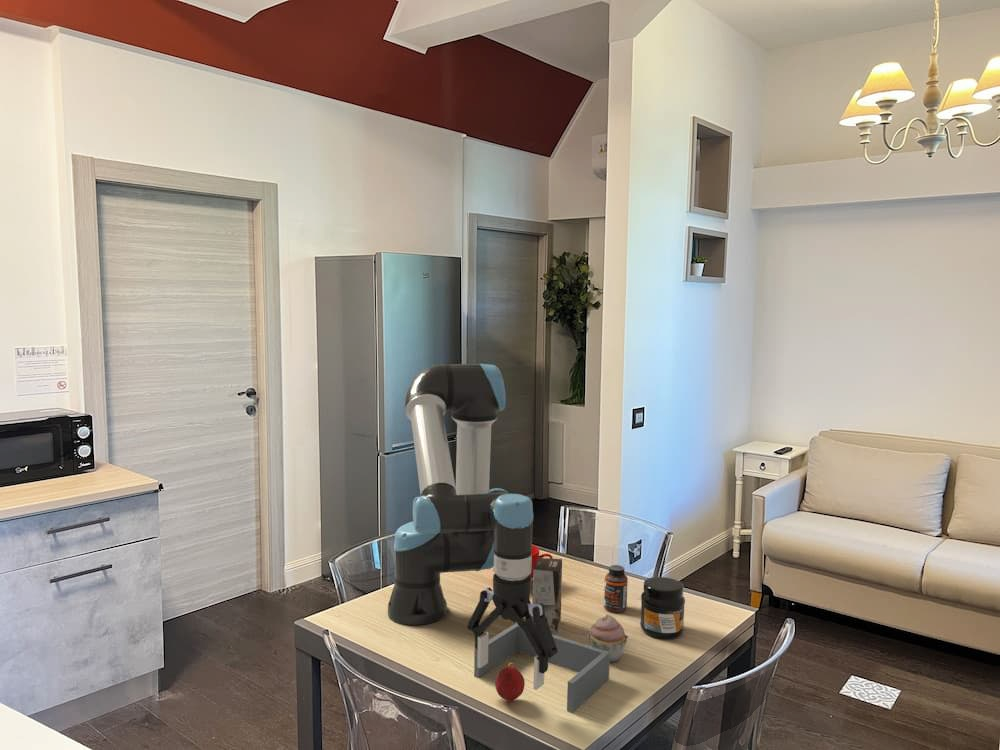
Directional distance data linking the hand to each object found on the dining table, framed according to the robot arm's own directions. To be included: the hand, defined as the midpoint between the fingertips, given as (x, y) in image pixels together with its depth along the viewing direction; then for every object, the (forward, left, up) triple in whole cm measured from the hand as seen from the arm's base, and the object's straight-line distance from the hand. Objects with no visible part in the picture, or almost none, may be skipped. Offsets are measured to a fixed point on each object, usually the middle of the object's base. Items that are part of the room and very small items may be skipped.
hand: (509, 675), depth 147 cm
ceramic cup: (-32, +54, -5) cm, 63 cm away
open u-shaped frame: (0, +12, -5) cm, 13 cm away
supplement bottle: (-3, +54, -5) cm, 54 cm away
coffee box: (-12, +34, -5) cm, 36 cm away
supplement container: (+12, +49, -5) cm, 51 cm away
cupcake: (+7, +29, -5) cm, 30 cm away
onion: (0, 0, -5) cm, 6 cm away
